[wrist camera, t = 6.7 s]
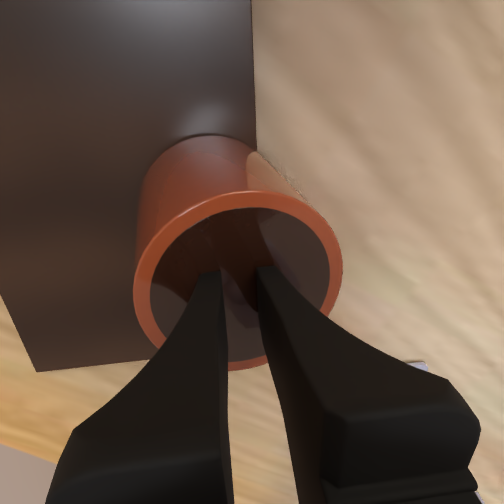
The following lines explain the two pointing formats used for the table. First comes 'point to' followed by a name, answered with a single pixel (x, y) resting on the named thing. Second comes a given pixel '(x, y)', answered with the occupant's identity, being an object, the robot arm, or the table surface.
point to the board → (102, 153)
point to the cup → (225, 240)
